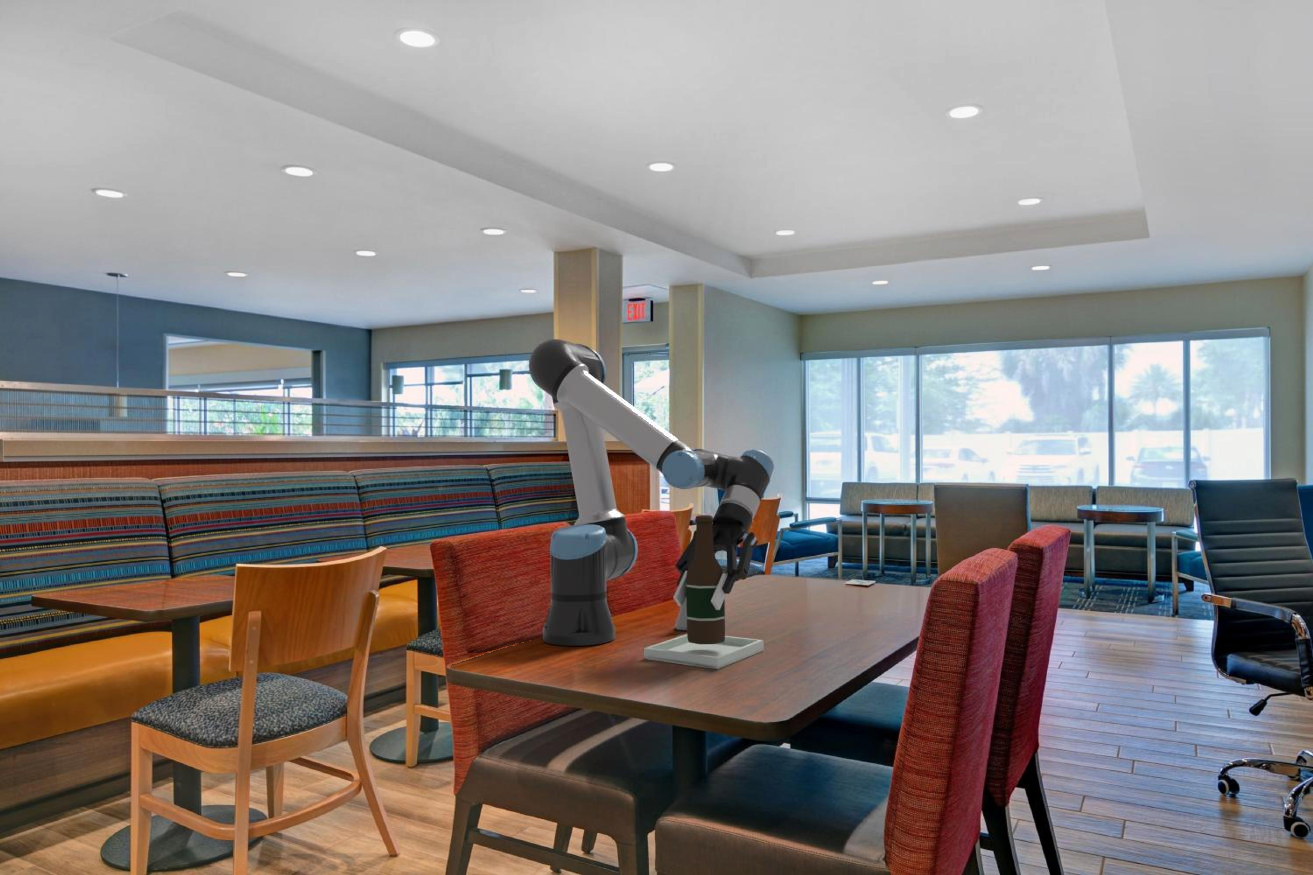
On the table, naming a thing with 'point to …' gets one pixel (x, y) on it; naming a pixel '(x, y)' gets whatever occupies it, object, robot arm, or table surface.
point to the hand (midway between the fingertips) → (696, 603)
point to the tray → (704, 651)
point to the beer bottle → (704, 589)
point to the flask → (682, 618)
